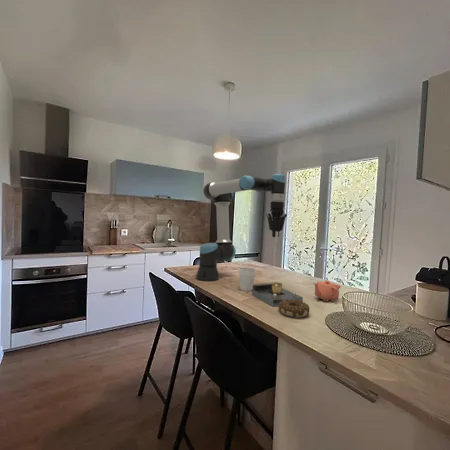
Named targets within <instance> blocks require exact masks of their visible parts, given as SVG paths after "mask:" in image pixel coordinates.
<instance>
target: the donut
mask: <svg viewBox="0 0 450 450" xmlns="http://www.w3.org/2000/svg"><path fill="white" fill-rule="evenodd" d="M278 310H279V312H280V313H281V314H282V315H284V316H287V317H291V318H296V319H297V318H305V317H306V316H309V313H310V305H309V304H308V303H306V302H305V301H299V300H292V299H291V300H282V301H281V302H280V304H279V306H278Z"/></svg>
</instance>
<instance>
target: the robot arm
mask: <svg viewBox="0 0 450 450" xmlns="http://www.w3.org/2000/svg"><path fill="white" fill-rule="evenodd" d="M285 188H286V175H285V174H282V173H274V174H272V175H271V178H261V177H256V176H252V175H243V176H241V177H240V178H235V179H231V180H225V181H221V182H216V181H214V182H209V183H207V184H205V185H204V186H203V195H204V197H205V198H206V199H208V200H210V201H213V204H214V206H215V207H216V210H215V211H216V233H217V238H216V239H217V240H216V241H215V242H207V243H203V244H201V245H200V248H199V264H198V265H199V266H198V269H197V271H196V274H195V275H196V276H195V279H196V280H198V281H201V282H215V281H218V280H219V278H220V275H219V272H218V263H221V262H229V261H232V260H233V259H234V258H235V257H236V253H237V252H236V250H237V249H236V247H235V245H233V242H232V240H231V239H230V238H231V237H230V216H229V215H230V213H229V211H230V210H229V206H230V204H231V201H232V200H233V198H234V196H235V195H234V193H238V192H239V193H240V192H244V191H245V192H246V191H256V192H257V193H264V192H265V193H267V192H271V193H270V194H271V195H270V210H269V212H266V217H267V222H268V229H269V231H271V232H272V233H271V236H272V243H273V244H278V243H279V242H278V241H279V237H280V232H281V231H283V229H284V225H285V221H286V218H287V216H288V214H287V213H285V211H284V209H285V202H284V201H285V191H286V189H285Z"/></svg>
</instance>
